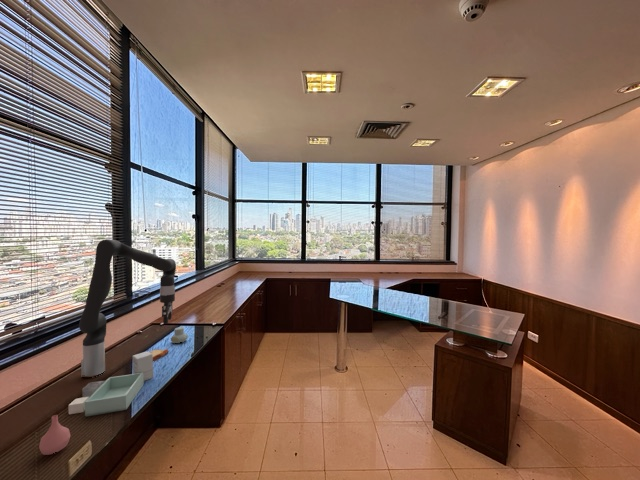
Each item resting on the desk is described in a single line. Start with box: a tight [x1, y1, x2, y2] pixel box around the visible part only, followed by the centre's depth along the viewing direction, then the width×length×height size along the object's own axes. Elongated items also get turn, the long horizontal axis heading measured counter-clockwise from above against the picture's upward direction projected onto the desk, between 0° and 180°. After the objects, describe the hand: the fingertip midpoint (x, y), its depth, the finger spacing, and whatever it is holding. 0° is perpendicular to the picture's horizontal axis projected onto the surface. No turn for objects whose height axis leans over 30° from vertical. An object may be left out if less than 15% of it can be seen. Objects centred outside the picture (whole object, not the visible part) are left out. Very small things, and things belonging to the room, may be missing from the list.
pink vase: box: [38, 414, 71, 456], centre depth 93 cm, size 8×8×12 cm
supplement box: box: [132, 351, 154, 382], centre depth 143 cm, size 7×7×13 cm
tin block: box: [81, 380, 105, 398], centre depth 128 cm, size 6×6×5 cm
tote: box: [84, 373, 144, 418], centre depth 124 cm, size 15×22×6 cm
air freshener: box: [170, 326, 189, 344], centre depth 195 cm, size 11×8×10 cm
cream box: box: [68, 397, 89, 415], centre depth 117 cm, size 5×5×4 cm
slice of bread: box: [149, 348, 169, 362], centre depth 169 cm, size 18×18×4 cm
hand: (167, 321), depth 156 cm, fingers open, 8 cm apart
